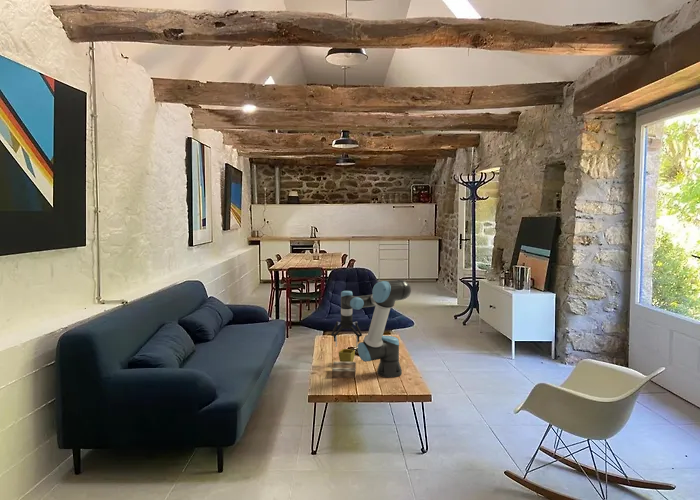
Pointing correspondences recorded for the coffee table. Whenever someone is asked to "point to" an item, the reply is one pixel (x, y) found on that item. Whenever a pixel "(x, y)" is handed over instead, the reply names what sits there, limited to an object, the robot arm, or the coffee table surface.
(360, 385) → the coffee table surface
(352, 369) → the display stand
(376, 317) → the robot arm
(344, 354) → the flower pot
